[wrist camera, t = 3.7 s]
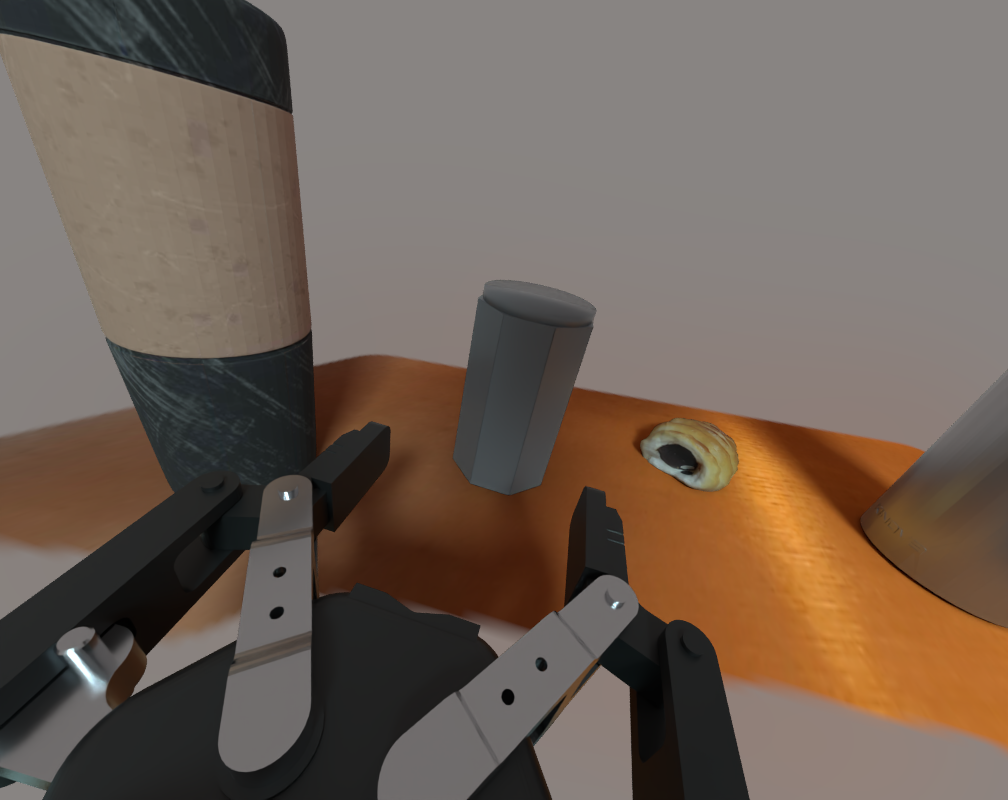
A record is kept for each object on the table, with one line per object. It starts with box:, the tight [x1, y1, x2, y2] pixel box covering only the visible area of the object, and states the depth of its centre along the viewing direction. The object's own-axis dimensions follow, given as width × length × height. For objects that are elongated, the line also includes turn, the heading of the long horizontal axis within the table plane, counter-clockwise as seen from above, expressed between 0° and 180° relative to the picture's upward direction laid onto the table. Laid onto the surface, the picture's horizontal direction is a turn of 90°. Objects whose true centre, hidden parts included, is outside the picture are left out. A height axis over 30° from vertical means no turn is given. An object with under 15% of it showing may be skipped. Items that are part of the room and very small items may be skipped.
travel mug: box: [0, 0, 316, 493], centre depth 16 cm, size 8×8×20 cm
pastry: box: [640, 418, 739, 491], centre depth 30 cm, size 9×7×4 cm
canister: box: [453, 280, 596, 495], centre depth 23 cm, size 6×6×12 cm
